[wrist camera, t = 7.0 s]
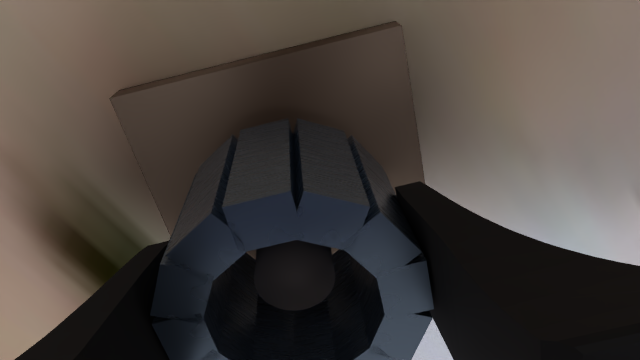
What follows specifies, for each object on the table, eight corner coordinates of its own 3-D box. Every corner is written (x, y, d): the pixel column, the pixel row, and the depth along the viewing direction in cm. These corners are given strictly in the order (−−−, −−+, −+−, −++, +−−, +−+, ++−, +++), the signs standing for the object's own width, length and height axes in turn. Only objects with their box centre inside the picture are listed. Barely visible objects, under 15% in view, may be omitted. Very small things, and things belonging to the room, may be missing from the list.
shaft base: (395, 21, 13) (453, 57, 9) (430, 253, 17) (485, 365, 12) (118, 90, 13) (35, 160, 9) (211, 304, 17) (184, 432, 12)
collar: (371, 97, 12) (411, 161, 8) (404, 271, 14) (445, 380, 11) (159, 149, 12) (105, 235, 8) (226, 312, 14) (207, 433, 11)
